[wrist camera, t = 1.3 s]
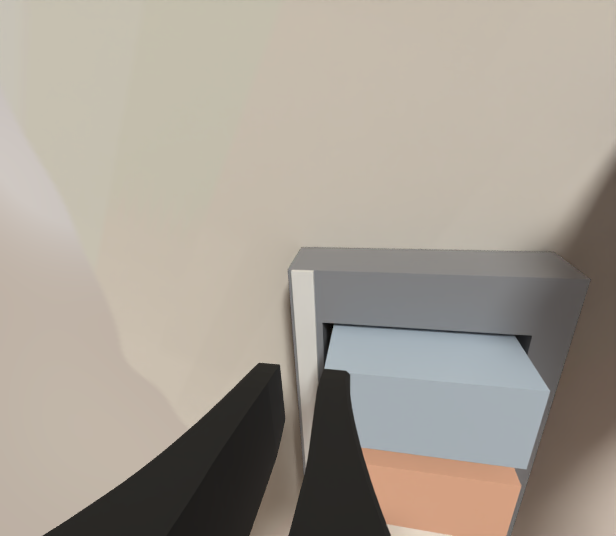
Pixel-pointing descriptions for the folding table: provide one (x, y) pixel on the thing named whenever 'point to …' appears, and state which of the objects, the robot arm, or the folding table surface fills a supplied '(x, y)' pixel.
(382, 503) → the terracotta key
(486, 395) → the slate key
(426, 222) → the folding table surface
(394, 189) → the folding table surface
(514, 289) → the grey shallow tray
